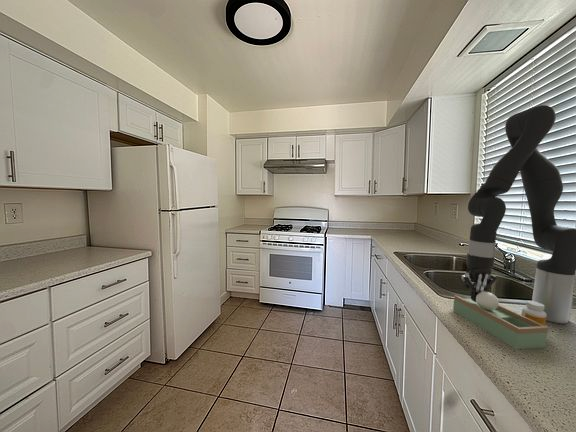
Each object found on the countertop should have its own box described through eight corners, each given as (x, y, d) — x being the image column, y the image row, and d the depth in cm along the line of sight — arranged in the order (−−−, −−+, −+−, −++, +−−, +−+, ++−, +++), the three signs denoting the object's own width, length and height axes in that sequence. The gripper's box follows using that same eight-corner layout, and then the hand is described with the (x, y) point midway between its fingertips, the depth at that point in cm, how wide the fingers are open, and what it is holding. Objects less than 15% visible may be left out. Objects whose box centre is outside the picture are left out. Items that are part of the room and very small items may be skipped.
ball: (485, 304, 85) (487, 288, 84) (502, 313, 79) (504, 295, 78) (470, 305, 84) (472, 289, 83) (486, 314, 78) (488, 296, 77)
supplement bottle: (548, 338, 73) (553, 308, 72) (528, 336, 74) (532, 306, 73) (534, 329, 78) (538, 300, 77) (515, 326, 79) (519, 298, 78)
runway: (475, 309, 90) (477, 294, 90) (545, 347, 68) (548, 327, 68) (453, 310, 89) (454, 295, 88) (516, 349, 67) (519, 329, 67)
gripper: (487, 251, 88) (482, 296, 90) (454, 251, 86) (450, 297, 88) (508, 256, 81) (502, 305, 82) (473, 256, 79) (467, 306, 81)
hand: (475, 301), depth 85 cm, fingers closed
